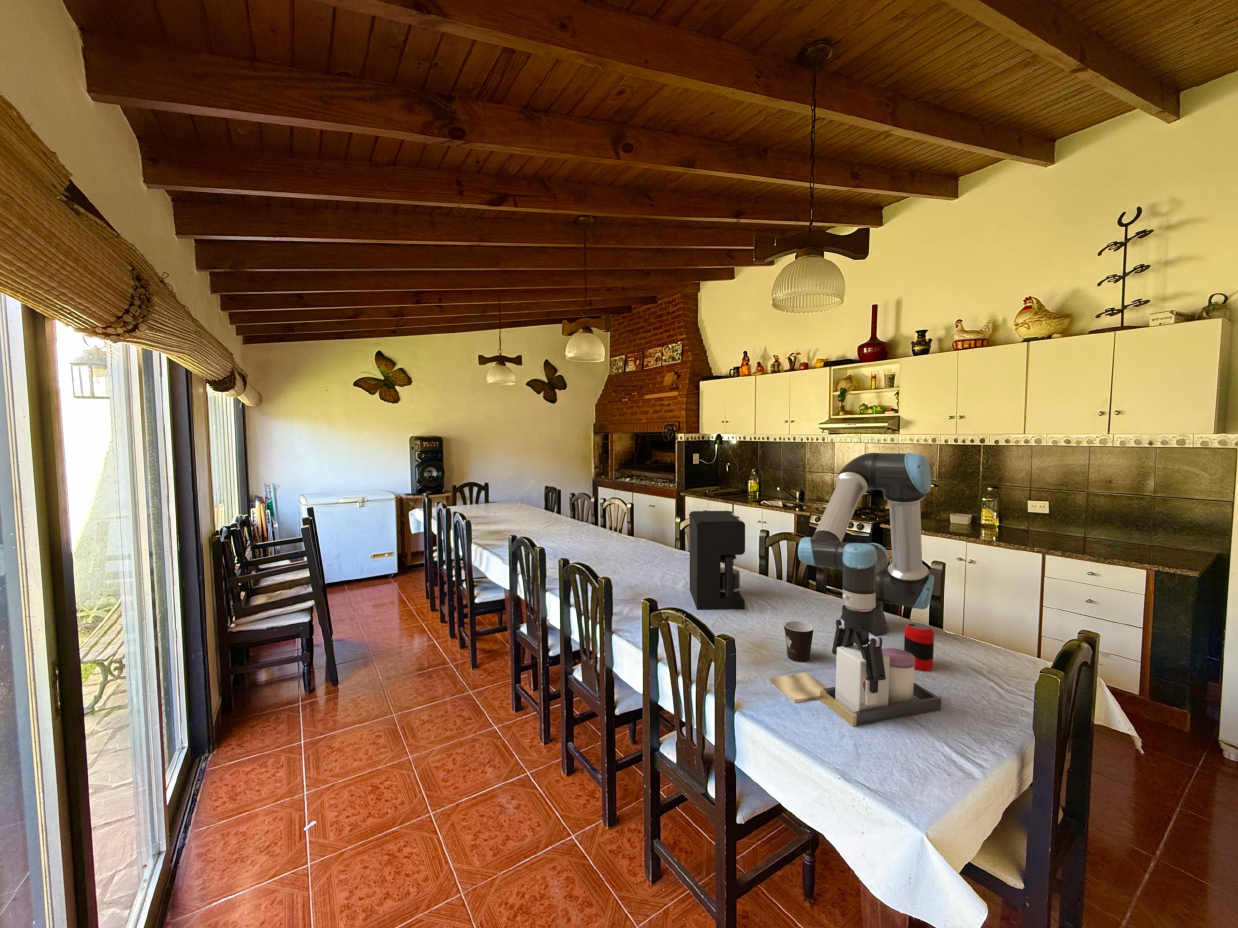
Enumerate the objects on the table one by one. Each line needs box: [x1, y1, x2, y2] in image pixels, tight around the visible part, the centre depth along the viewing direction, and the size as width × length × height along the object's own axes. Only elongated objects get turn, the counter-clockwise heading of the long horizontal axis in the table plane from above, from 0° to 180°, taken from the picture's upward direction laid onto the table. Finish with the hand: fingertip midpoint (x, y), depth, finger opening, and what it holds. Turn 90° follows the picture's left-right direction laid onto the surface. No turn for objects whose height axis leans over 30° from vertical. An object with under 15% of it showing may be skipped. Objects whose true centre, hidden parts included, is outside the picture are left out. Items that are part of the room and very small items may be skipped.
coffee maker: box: [688, 510, 746, 611], centre depth 213 cm, size 28×20×35 cm
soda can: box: [903, 622, 935, 672], centre depth 156 cm, size 8×8×12 cm
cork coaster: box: [769, 672, 828, 704], centre depth 144 cm, size 12×12×1 cm
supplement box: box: [835, 644, 890, 714], centre depth 133 cm, size 9×9×15 cm
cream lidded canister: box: [882, 647, 915, 705], centre depth 136 cm, size 8×8×13 cm
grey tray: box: [819, 682, 942, 727], centre depth 135 cm, size 26×12×3 cm, turn 105°
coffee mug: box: [783, 620, 814, 663], centre depth 164 cm, size 12×9×10 cm
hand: (856, 693), depth 133 cm, fingers closed on supplement box, 9 cm apart
